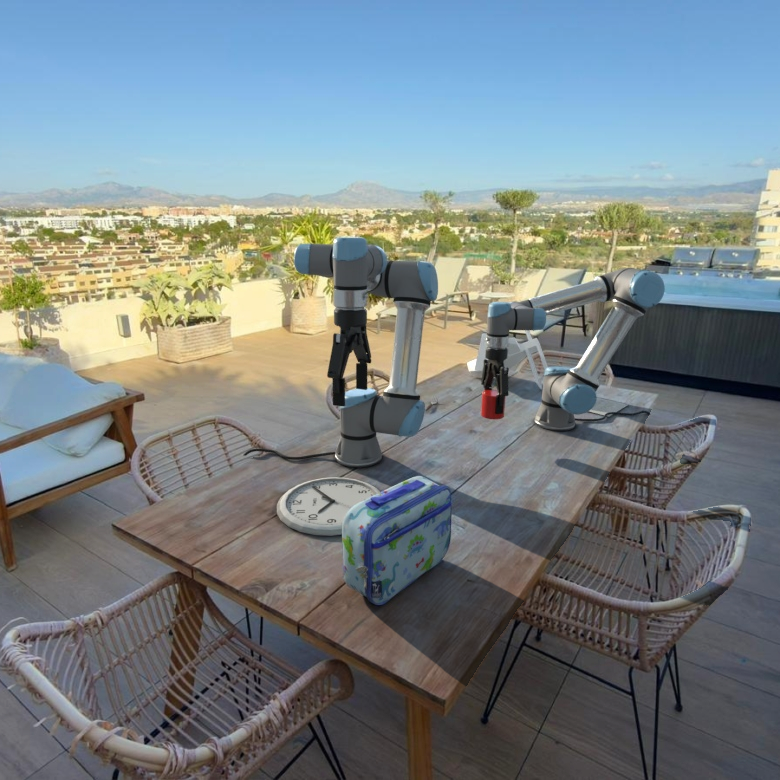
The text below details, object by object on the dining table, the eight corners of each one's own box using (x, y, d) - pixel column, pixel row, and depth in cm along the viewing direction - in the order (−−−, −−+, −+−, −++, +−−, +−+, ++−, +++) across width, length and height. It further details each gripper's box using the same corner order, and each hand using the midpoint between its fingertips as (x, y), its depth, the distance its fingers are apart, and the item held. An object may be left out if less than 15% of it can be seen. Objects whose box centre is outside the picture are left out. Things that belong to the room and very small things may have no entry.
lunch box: (371, 618, 102) (371, 524, 95) (336, 591, 109) (334, 502, 103) (455, 562, 119) (460, 479, 113) (420, 542, 126) (423, 463, 120)
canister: (502, 412, 191) (504, 389, 189) (505, 419, 184) (506, 396, 181) (480, 411, 192) (481, 389, 190) (481, 419, 185) (483, 395, 182)
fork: (422, 411, 216) (422, 407, 215) (433, 400, 230) (433, 396, 230) (428, 412, 215) (429, 407, 215) (438, 401, 230) (439, 396, 229)
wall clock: (392, 527, 129) (268, 531, 127) (391, 533, 130) (269, 537, 127) (383, 473, 158) (282, 475, 155) (383, 478, 158) (282, 480, 156)
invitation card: (608, 416, 214) (573, 407, 224) (608, 416, 214) (573, 408, 224) (628, 404, 229) (594, 396, 238) (628, 405, 229) (594, 397, 238)
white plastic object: (487, 418, 267) (468, 395, 242) (469, 346, 289) (449, 318, 264) (558, 394, 255) (545, 368, 230) (533, 321, 277) (518, 289, 252)
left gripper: (342, 317, 106) (343, 415, 112) (384, 302, 129) (383, 384, 135) (309, 314, 108) (312, 411, 115) (356, 300, 131) (356, 381, 137)
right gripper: (473, 342, 189) (470, 401, 196) (502, 355, 170) (497, 420, 177) (492, 340, 191) (488, 399, 198) (522, 353, 172) (517, 418, 179)
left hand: (350, 396), depth 125 cm, fingers open, 13 cm apart
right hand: (493, 409), depth 187 cm, fingers closed on canister, 8 cm apart
